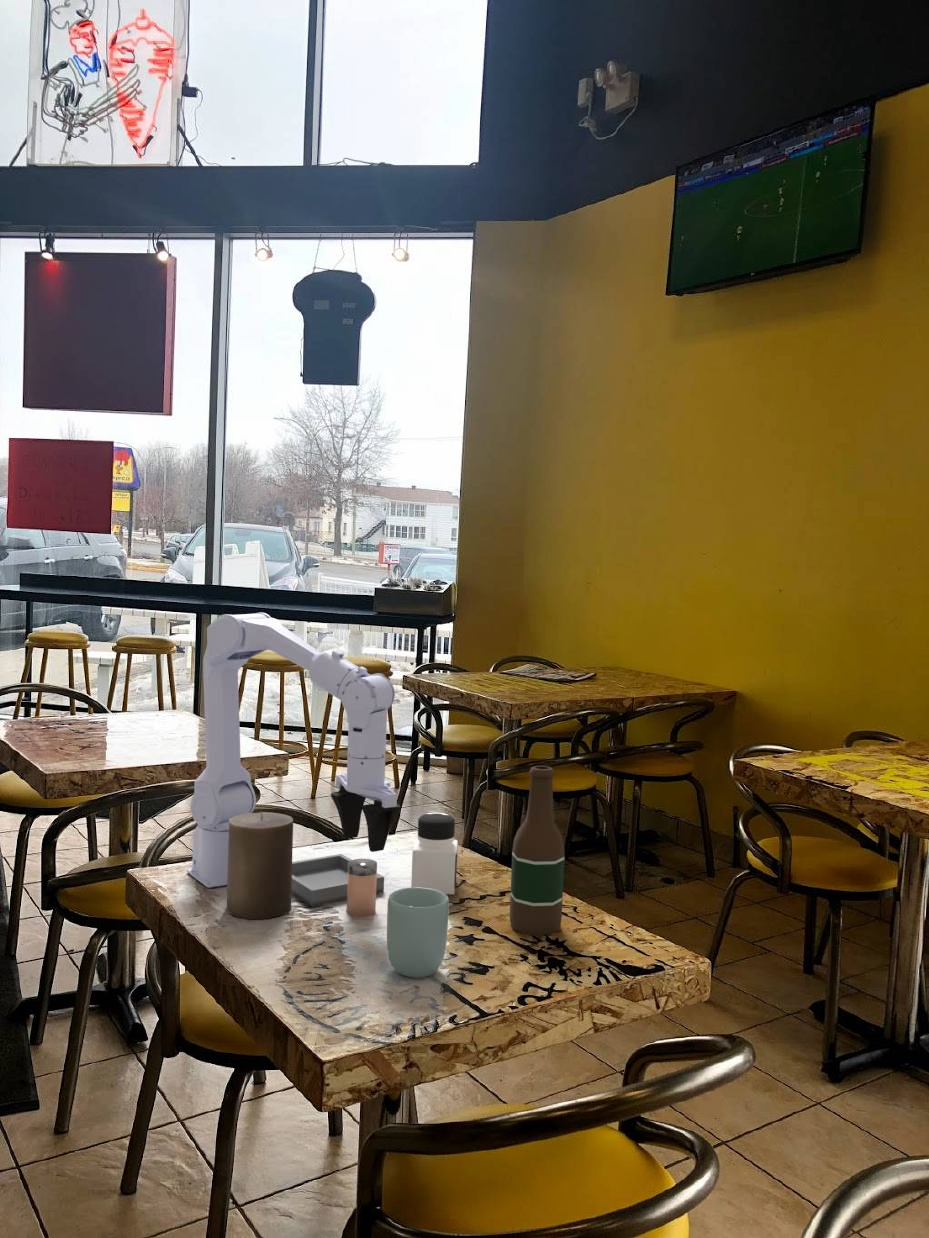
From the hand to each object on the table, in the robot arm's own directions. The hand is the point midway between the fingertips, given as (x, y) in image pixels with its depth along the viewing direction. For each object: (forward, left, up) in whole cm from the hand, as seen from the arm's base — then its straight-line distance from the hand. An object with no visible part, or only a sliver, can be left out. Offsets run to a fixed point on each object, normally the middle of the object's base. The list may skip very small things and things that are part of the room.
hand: (363, 843), depth 151 cm
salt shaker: (0, 0, -10) cm, 10 cm away
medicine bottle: (-4, +16, -11) cm, 19 cm away
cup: (+22, -5, -11) cm, 25 cm away
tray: (-13, +1, -10) cm, 16 cm away
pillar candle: (-9, -13, -11) cm, 19 cm away
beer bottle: (+18, +19, -11) cm, 29 cm away
